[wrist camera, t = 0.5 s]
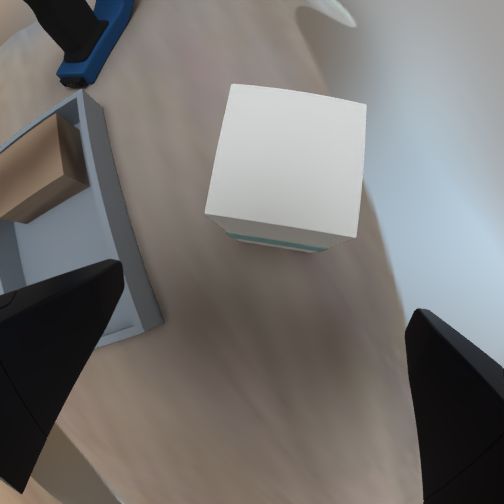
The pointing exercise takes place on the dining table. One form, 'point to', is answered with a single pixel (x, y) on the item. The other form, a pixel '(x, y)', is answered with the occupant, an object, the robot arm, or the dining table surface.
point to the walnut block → (41, 170)
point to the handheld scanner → (82, 33)
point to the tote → (82, 228)
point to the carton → (288, 169)
